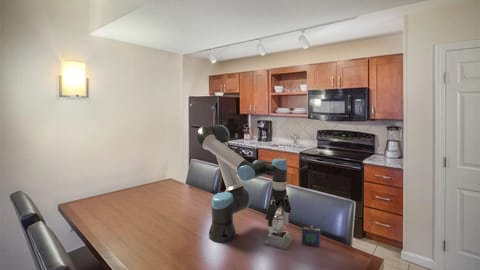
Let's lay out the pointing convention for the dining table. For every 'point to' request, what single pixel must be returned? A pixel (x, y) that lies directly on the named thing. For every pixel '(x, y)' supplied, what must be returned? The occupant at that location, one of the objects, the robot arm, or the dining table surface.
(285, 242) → the duct collar
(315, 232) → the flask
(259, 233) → the dining table surface
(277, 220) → the silver canister
